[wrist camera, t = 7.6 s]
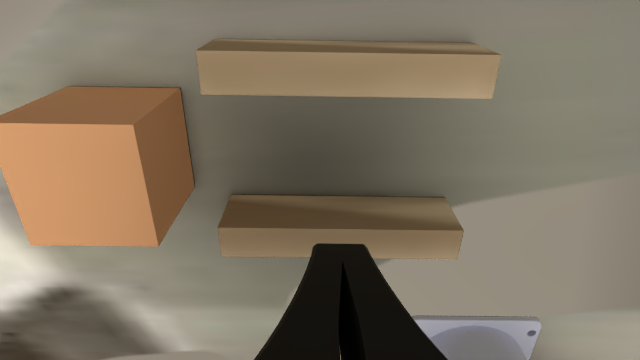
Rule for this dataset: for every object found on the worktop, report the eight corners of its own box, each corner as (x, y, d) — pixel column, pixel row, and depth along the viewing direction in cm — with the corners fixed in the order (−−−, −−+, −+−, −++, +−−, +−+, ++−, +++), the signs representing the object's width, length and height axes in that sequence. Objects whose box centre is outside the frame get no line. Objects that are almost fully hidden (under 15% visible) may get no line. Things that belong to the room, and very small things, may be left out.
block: (194, 186, 20) (158, 246, 16) (95, 185, 20) (30, 244, 16) (180, 88, 18) (133, 124, 13) (68, 86, 18) (-17, 122, 13)
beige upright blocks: (440, 223, 21) (457, 259, 18) (233, 221, 21) (221, 256, 18) (472, 42, 17) (501, 55, 14) (215, 39, 17) (195, 50, 14)
